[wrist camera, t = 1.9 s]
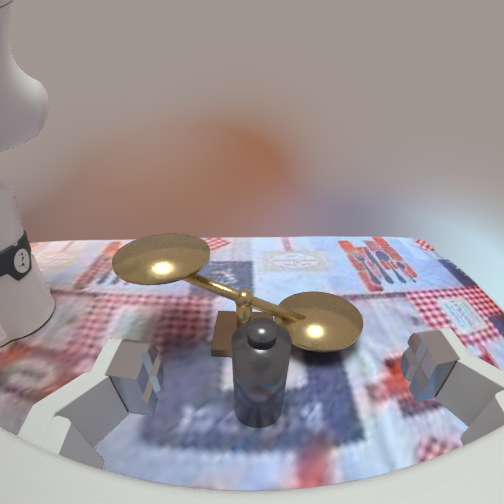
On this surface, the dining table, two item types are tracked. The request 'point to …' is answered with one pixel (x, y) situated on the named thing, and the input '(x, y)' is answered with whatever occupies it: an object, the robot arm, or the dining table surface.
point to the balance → (239, 295)
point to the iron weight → (260, 371)
